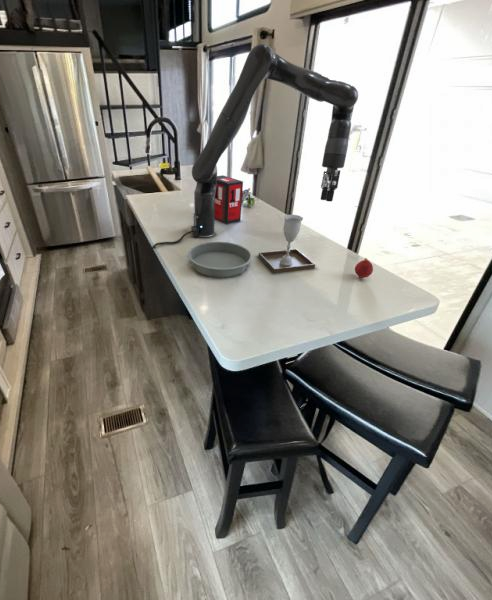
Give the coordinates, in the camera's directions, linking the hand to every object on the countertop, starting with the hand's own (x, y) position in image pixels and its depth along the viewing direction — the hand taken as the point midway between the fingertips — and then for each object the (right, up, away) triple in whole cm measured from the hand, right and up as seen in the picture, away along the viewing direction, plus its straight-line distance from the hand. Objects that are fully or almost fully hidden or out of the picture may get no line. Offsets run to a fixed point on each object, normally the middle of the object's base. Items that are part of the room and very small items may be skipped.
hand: (326, 200), depth 119 cm
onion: (+12, -29, -3) cm, 32 cm away
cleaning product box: (-35, +6, +52) cm, 63 cm away
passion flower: (-21, +20, +72) cm, 78 cm away
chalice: (-13, -22, +7) cm, 27 cm away
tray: (-13, -22, +8) cm, 27 cm away
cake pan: (-40, -23, +6) cm, 46 cm away
